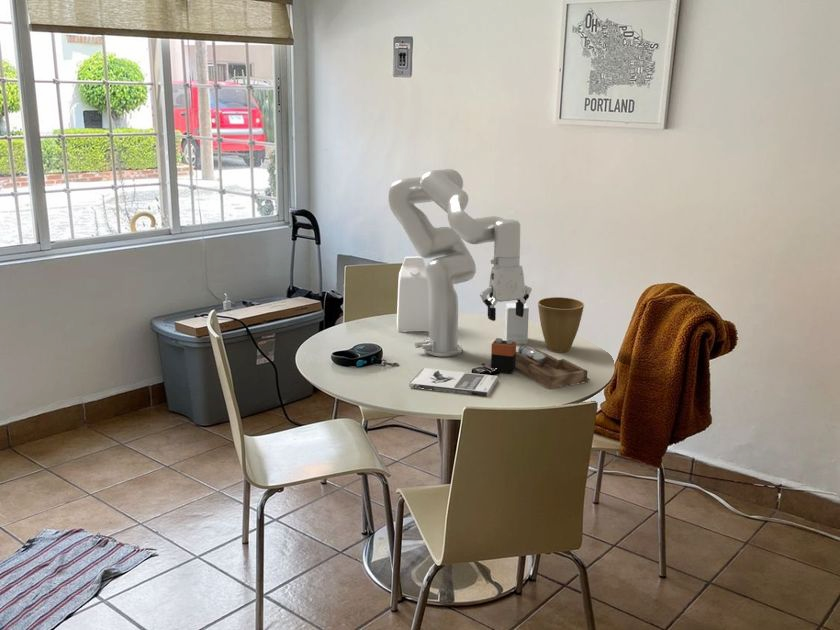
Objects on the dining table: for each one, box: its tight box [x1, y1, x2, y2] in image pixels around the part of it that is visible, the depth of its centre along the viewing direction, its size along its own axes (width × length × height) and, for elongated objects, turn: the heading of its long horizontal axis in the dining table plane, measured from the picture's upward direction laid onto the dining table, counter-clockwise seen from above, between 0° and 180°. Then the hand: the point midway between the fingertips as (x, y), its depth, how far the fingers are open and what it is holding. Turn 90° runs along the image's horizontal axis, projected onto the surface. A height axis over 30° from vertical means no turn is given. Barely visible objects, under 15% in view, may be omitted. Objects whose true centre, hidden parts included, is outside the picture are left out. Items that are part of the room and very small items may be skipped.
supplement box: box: [503, 302, 529, 345], centre depth 268 cm, size 7×7×13 cm
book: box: [408, 367, 499, 397], centre depth 228 cm, size 23×14×2 cm, turn 72°
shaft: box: [517, 344, 547, 366], centre depth 244 cm, size 4×10×4 cm, turn 25°
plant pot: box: [537, 296, 585, 353], centre depth 258 cm, size 15×15×16 cm
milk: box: [396, 256, 429, 332], centre depth 282 cm, size 12×12×26 cm
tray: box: [514, 347, 590, 390], centre depth 238 cm, size 14×25×4 cm, turn 25°
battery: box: [490, 337, 517, 375], centre depth 238 cm, size 4×7×10 cm, turn 69°
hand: (505, 317), depth 235 cm, fingers open, 9 cm apart
